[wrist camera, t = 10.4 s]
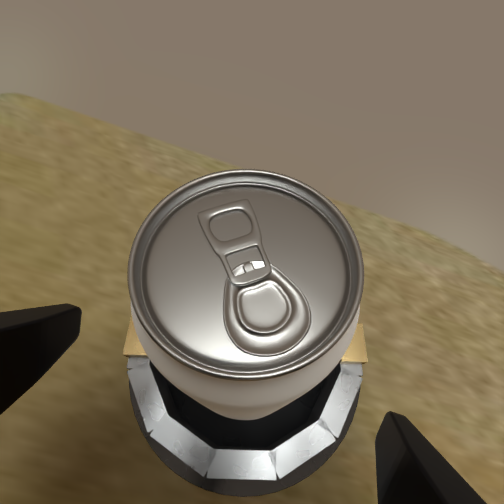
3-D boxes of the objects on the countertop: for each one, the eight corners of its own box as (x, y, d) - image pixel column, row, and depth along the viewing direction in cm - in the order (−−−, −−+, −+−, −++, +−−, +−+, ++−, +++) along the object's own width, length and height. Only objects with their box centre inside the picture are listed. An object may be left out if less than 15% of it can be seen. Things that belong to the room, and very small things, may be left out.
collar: (371, 496, 16) (414, 518, 12) (109, 489, 16) (64, 509, 12) (342, 264, 22) (364, 227, 18) (155, 257, 22) (135, 219, 18)
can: (206, 442, 16) (138, 464, 6) (174, 323, 19) (89, 191, 8) (321, 392, 17) (441, 334, 7) (275, 288, 20) (308, 135, 10)
